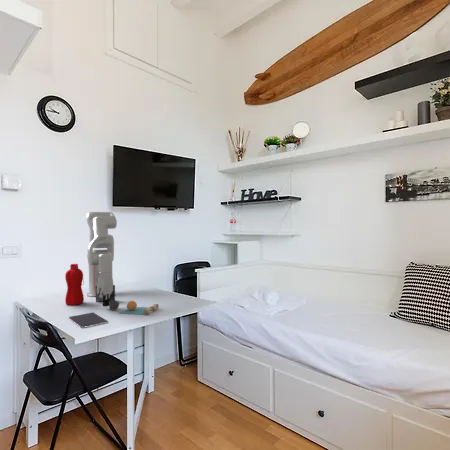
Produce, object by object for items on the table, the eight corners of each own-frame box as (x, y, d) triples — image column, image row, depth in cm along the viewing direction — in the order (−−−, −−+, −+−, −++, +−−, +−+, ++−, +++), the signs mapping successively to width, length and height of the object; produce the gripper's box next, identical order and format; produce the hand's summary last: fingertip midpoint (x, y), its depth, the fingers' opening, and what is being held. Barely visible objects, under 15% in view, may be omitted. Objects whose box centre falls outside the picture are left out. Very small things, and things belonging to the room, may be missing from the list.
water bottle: (78, 306, 195) (78, 265, 195) (63, 305, 197) (62, 264, 197) (88, 302, 204) (87, 263, 204) (73, 301, 206) (72, 262, 206)
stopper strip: (155, 308, 188) (155, 304, 188) (158, 308, 188) (158, 304, 188) (143, 315, 175) (143, 310, 175) (147, 315, 174) (147, 310, 174)
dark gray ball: (118, 297, 188) (122, 306, 188) (111, 300, 190) (115, 309, 189) (112, 300, 183) (116, 309, 183) (105, 303, 184) (109, 312, 184)
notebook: (107, 323, 162) (93, 315, 178) (107, 320, 162) (93, 312, 178) (81, 329, 153) (68, 319, 169) (81, 326, 153) (68, 316, 169)
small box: (115, 300, 208) (115, 284, 208) (109, 303, 201) (109, 286, 201) (101, 299, 211) (101, 283, 211) (95, 302, 204) (95, 285, 204)
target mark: (132, 306, 192) (132, 306, 192) (153, 308, 189) (153, 307, 189) (119, 313, 178) (119, 313, 178) (142, 314, 175) (142, 314, 175)
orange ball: (132, 298, 187) (140, 303, 186) (128, 305, 188) (135, 311, 187) (127, 300, 182) (135, 305, 181) (123, 308, 182) (131, 313, 181)
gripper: (107, 272, 196) (107, 302, 196) (91, 276, 181) (92, 308, 182) (118, 272, 194) (118, 303, 195) (103, 277, 180) (104, 309, 180)
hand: (105, 305), depth 188 cm, fingers closed
